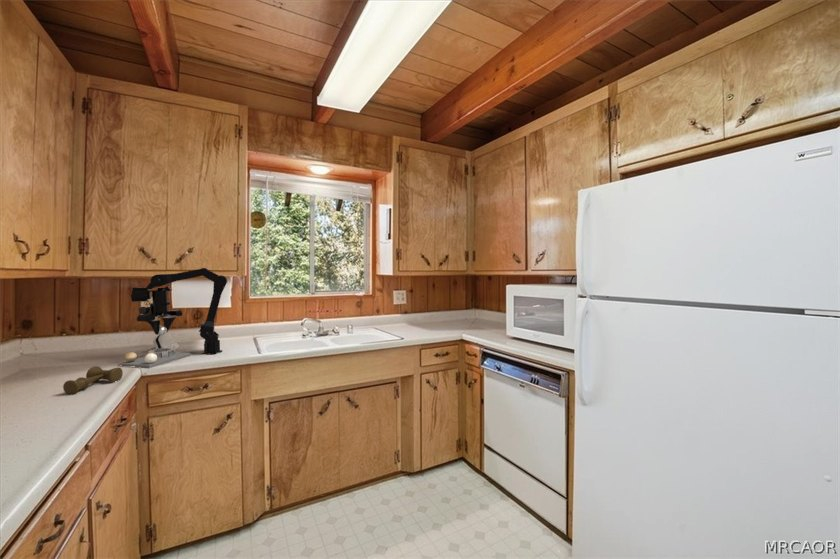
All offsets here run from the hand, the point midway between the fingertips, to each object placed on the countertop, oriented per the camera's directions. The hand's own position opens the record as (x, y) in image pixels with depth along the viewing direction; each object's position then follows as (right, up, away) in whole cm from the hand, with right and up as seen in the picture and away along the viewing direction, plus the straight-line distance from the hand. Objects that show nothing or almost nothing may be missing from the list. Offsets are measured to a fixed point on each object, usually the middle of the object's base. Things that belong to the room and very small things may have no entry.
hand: (161, 333), depth 166 cm
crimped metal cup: (0, -10, 0) cm, 11 cm away
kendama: (+3, -14, -37) cm, 39 cm away
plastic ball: (+5, -9, -13) cm, 16 cm away
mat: (+1, -12, -4) cm, 13 cm away
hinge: (-9, -12, +16) cm, 22 cm away
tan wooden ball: (-6, -9, -11) cm, 15 cm away
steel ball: (0, +1, 0) cm, 1 cm away
